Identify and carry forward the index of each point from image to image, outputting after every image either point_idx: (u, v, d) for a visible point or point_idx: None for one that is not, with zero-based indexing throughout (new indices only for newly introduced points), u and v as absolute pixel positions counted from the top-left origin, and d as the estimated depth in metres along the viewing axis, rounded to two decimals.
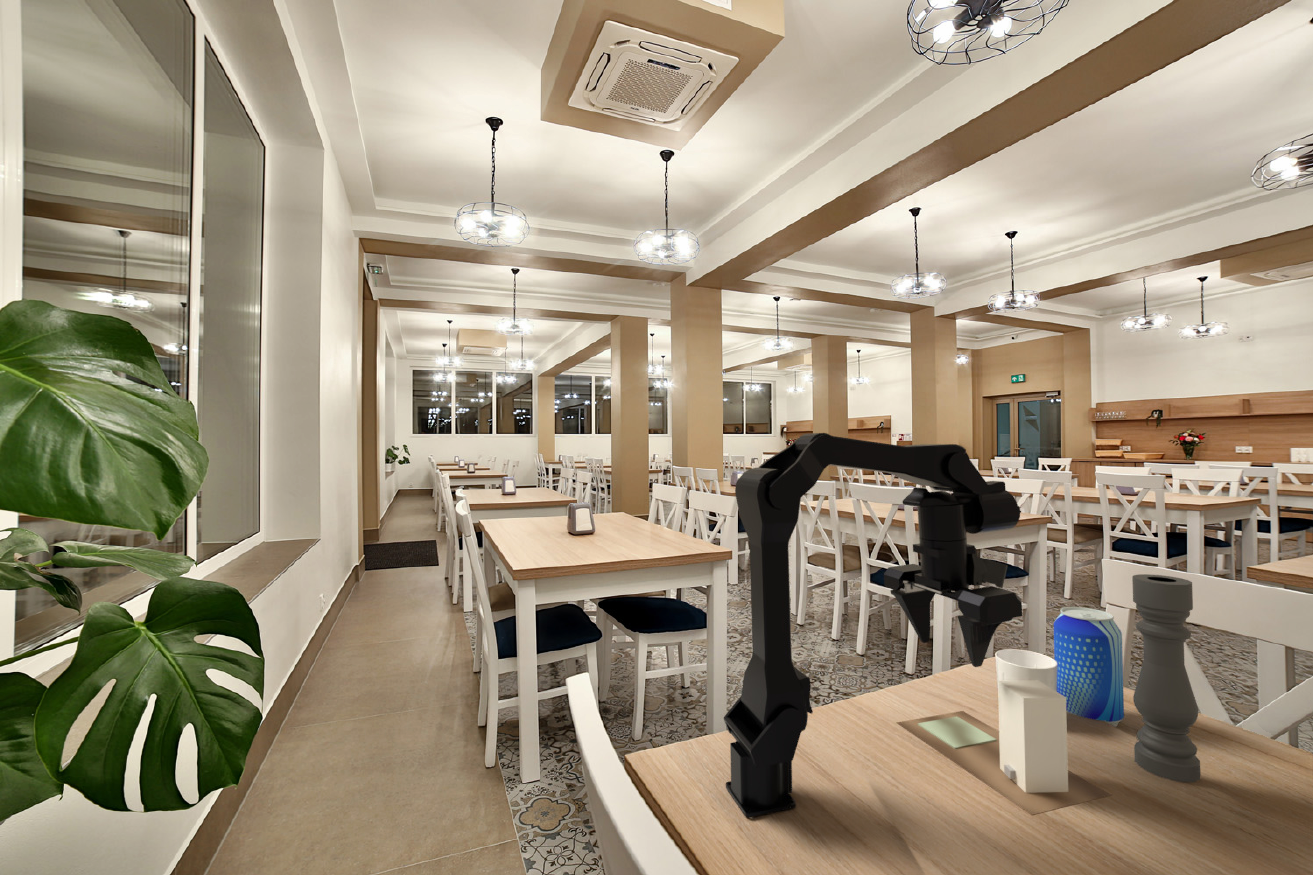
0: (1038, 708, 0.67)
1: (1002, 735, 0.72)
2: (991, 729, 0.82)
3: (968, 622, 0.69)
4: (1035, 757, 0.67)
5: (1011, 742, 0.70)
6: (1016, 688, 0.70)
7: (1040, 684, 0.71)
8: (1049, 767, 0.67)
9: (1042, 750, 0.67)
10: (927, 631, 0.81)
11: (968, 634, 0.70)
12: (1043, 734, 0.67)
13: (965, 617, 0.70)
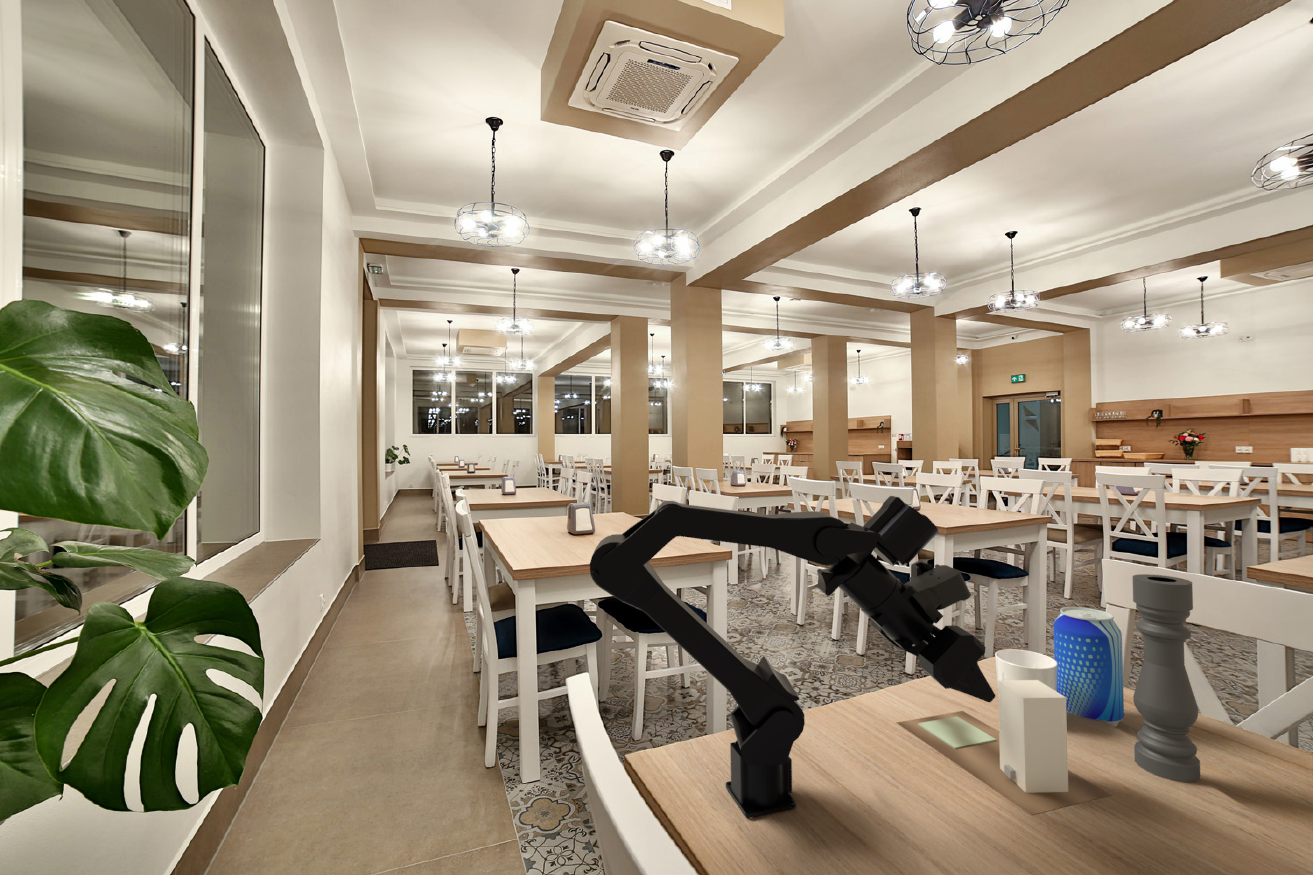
0: (1038, 708, 0.67)
1: (1002, 735, 0.72)
2: (991, 729, 0.82)
3: None
4: (1035, 757, 0.67)
5: (1011, 742, 0.70)
6: (1016, 688, 0.70)
7: (1040, 684, 0.71)
8: (1049, 767, 0.67)
9: (1042, 750, 0.67)
10: None
11: (954, 688, 0.64)
12: (1043, 734, 0.67)
13: None
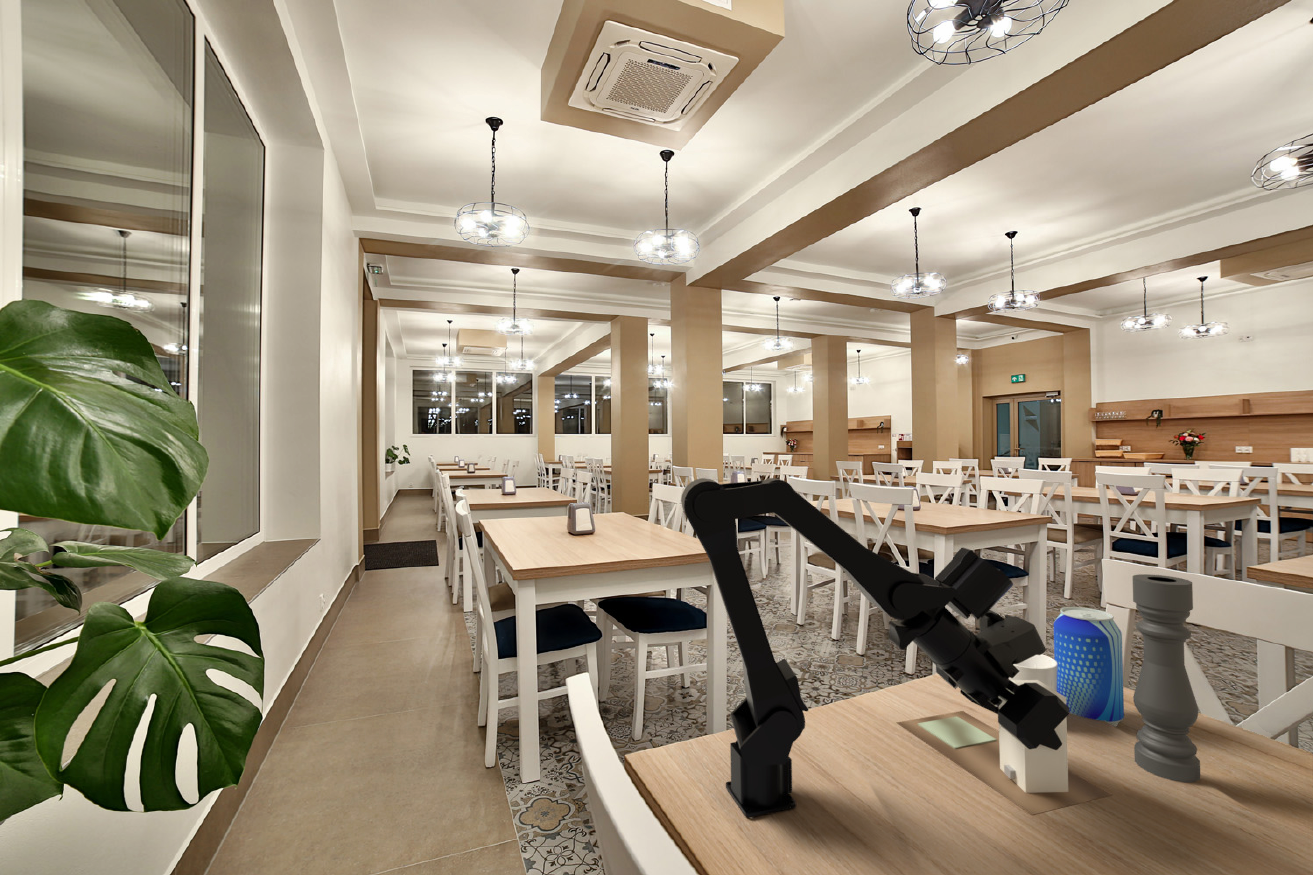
0: None
1: (1002, 735, 0.72)
2: (991, 729, 0.82)
3: None
4: (1035, 757, 0.67)
5: (1011, 742, 0.70)
6: None
7: (1040, 684, 0.71)
8: (1049, 767, 0.67)
9: (1042, 750, 0.67)
10: None
11: None
12: None
13: None
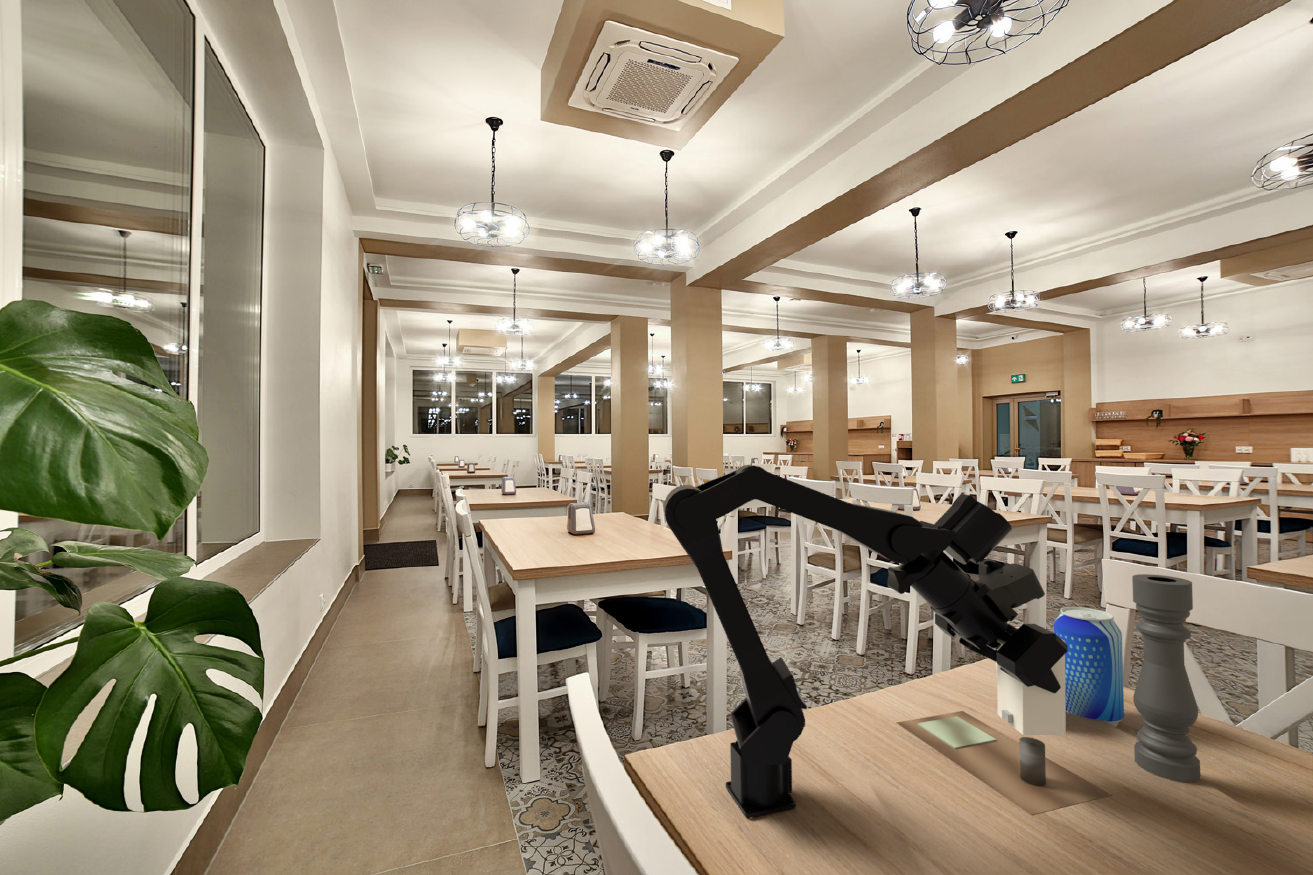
0: None
1: (1000, 681, 0.72)
2: (991, 729, 0.82)
3: (1010, 675, 0.65)
4: (1033, 700, 0.67)
5: (1009, 687, 0.70)
6: None
7: None
8: (1047, 709, 0.67)
9: (1040, 693, 0.67)
10: None
11: None
12: None
13: None
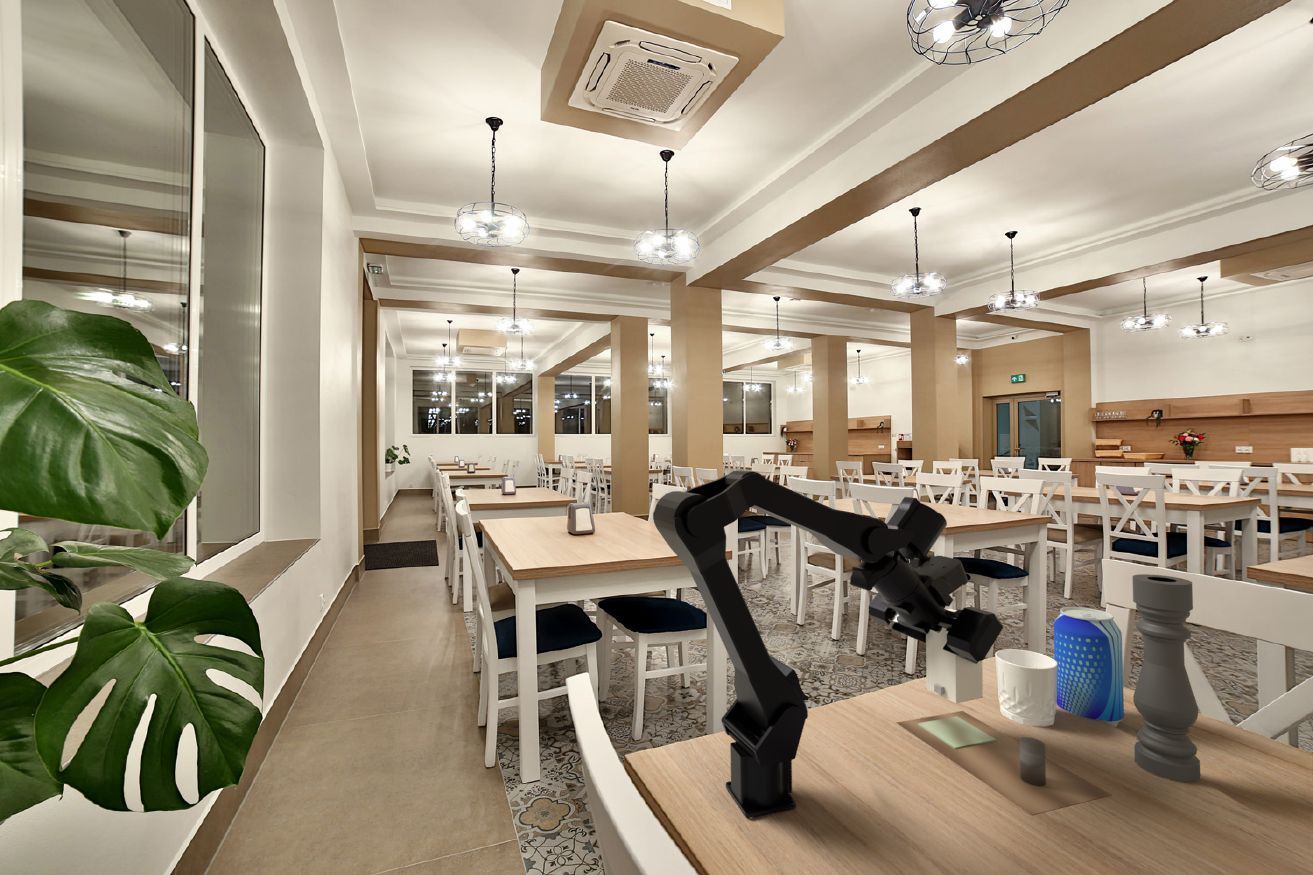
0: None
1: (929, 659, 0.82)
2: (991, 729, 0.82)
3: (954, 654, 0.75)
4: (962, 672, 0.78)
5: (940, 663, 0.80)
6: None
7: None
8: (971, 678, 0.79)
9: (966, 665, 0.79)
10: None
11: None
12: None
13: (949, 648, 0.76)
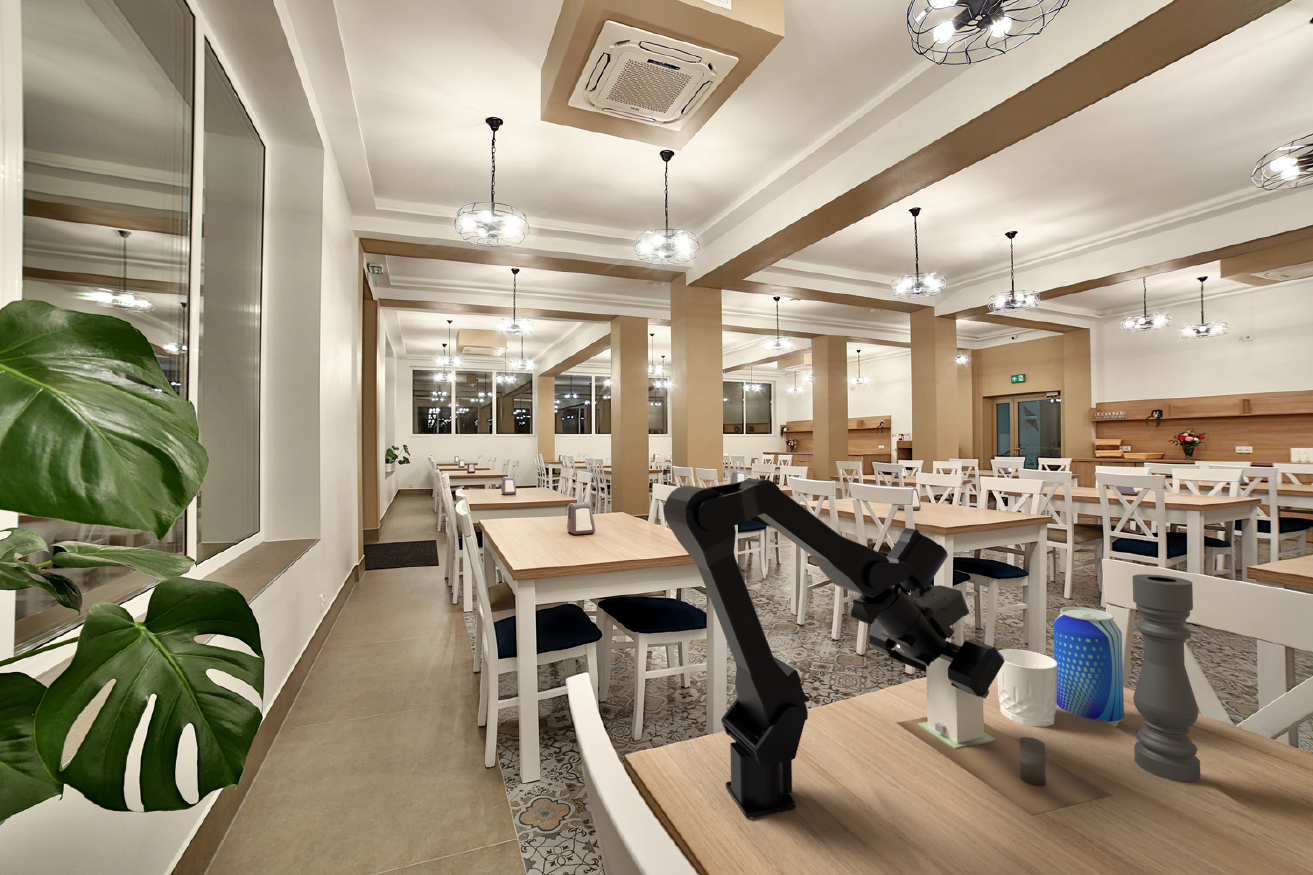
0: None
1: (930, 697, 0.82)
2: (991, 729, 0.82)
3: (963, 690, 0.74)
4: (963, 711, 0.78)
5: (941, 702, 0.80)
6: None
7: None
8: (972, 717, 0.79)
9: (967, 704, 0.79)
10: None
11: None
12: None
13: None
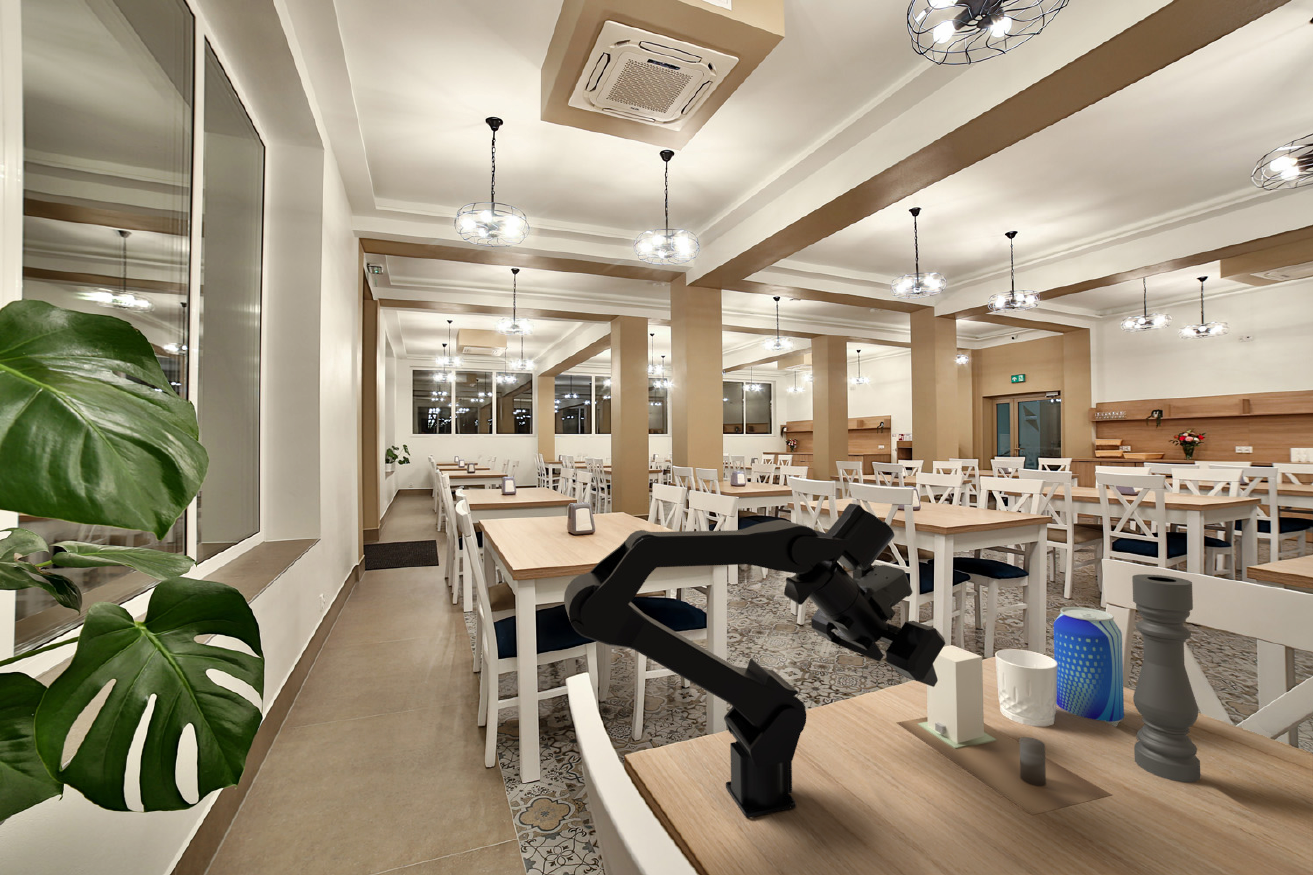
0: (965, 669, 0.79)
1: (930, 697, 0.82)
2: (991, 729, 0.82)
3: (907, 677, 0.68)
4: (963, 711, 0.78)
5: (941, 702, 0.80)
6: (944, 654, 0.81)
7: (956, 648, 0.83)
8: (972, 717, 0.79)
9: (967, 704, 0.79)
10: (876, 650, 0.81)
11: None
12: (968, 690, 0.79)
13: None
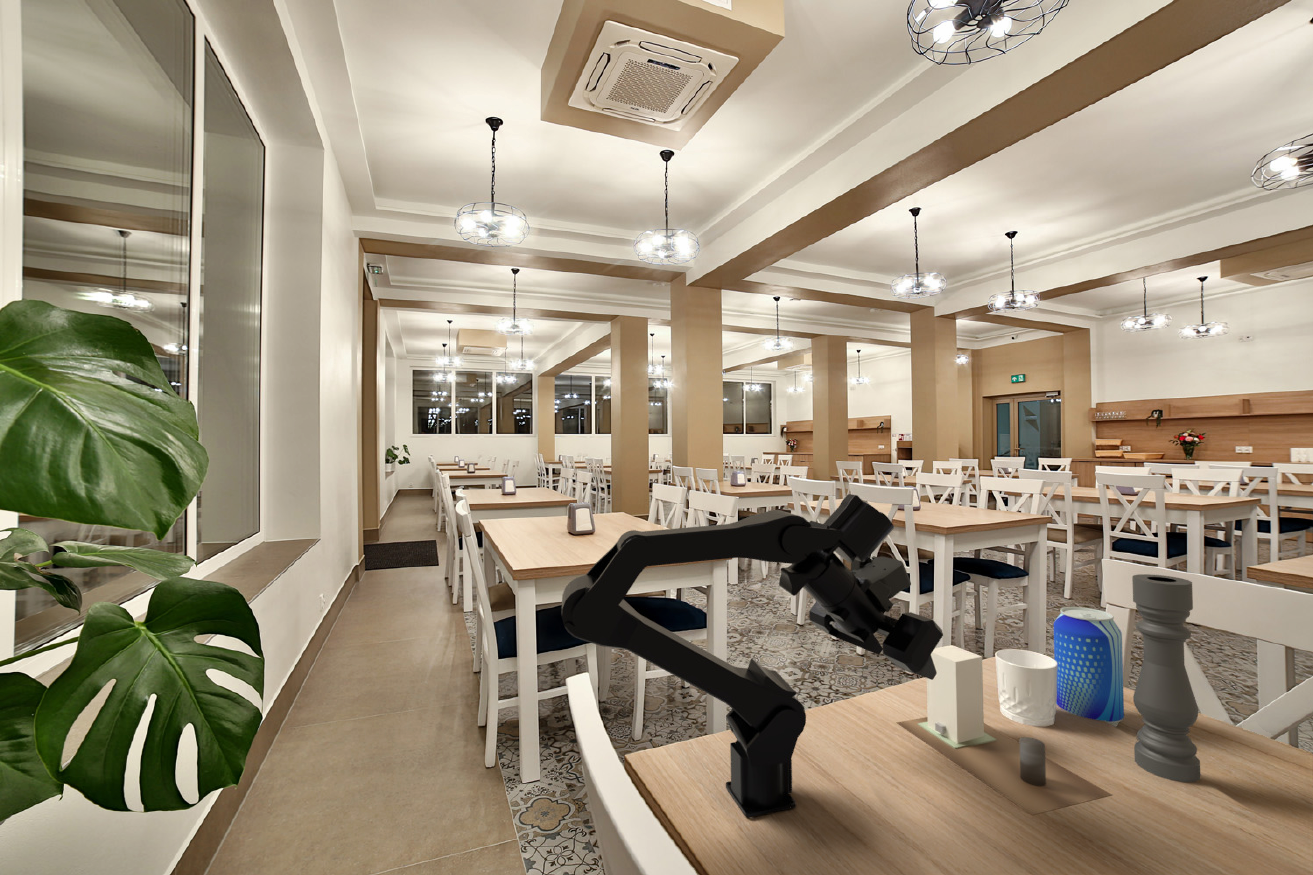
0: (965, 669, 0.79)
1: (930, 697, 0.82)
2: (991, 729, 0.82)
3: (904, 669, 0.67)
4: (963, 711, 0.78)
5: (941, 702, 0.80)
6: (944, 654, 0.81)
7: (956, 648, 0.83)
8: (972, 717, 0.79)
9: (967, 704, 0.79)
10: (876, 643, 0.79)
11: None
12: (968, 690, 0.79)
13: None
